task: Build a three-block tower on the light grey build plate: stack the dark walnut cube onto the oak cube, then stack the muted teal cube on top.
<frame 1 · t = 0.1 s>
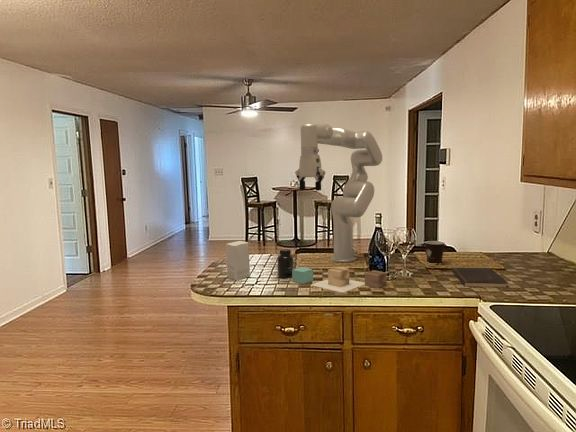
hand: (310, 190, 199), 37 cm above the countertop, tool pointing down, fingers open, 9 cm apart
build plate: (338, 286, 174), on the countertop
walnut cube: (375, 287, 172), on the countertop
skincare box: (239, 278, 192), on the countertop
hardcover book: (478, 280, 180), on the countertop
supplement bottle: (285, 277, 191), on the countertop
coffee mug: (433, 262, 209), on the countertop
teal cube: (302, 283, 180), on the countertop
oak cube: (338, 284, 174), point 1 cm above the countertop, touching build plate
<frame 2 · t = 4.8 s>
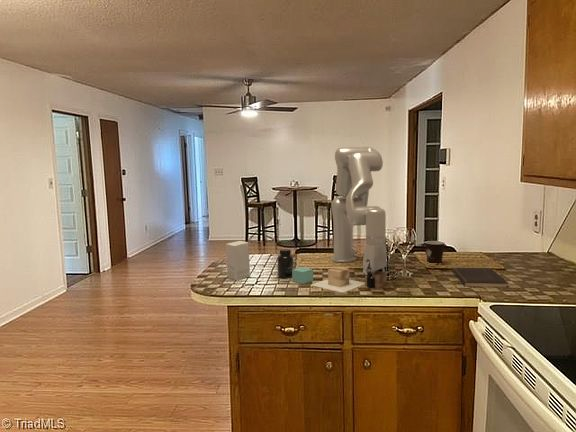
hand: (375, 285, 171), 1 cm above the countertop, tool pointing down, fingers closed on walnut cube, 6 cm apart
walnut cube: (375, 287, 172), on the countertop, touching gripper
everything else where it was.
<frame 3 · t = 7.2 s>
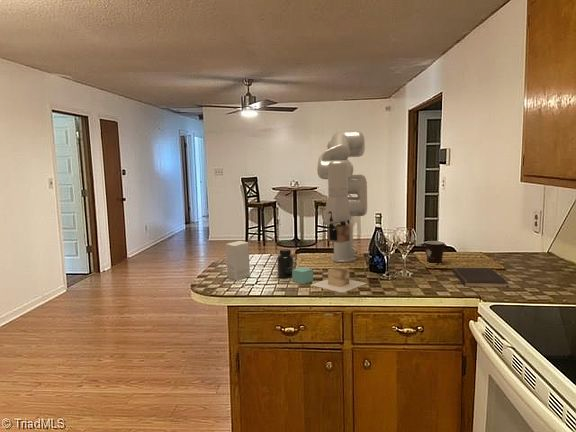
hand: (338, 238, 172), 19 cm above the countertop, tool pointing down, fingers closed on walnut cube, 6 cm apart
walnut cube: (338, 240, 172), point 19 cm above the countertop, touching gripper
everything else where it was.
when the fingers open (9 cm above the countertop, at t = 9.7 s): walnut cube stays where it is, resting on oak cube.
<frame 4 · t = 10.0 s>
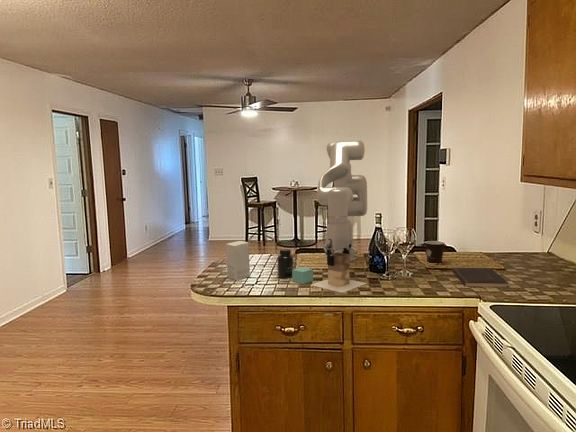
hand: (338, 263, 173), 9 cm above the countertop, tool pointing down, fingers open, 9 cm apart
walnut cube: (338, 269, 174), point 7 cm above the countertop, touching oak cube
oak cube: (338, 284, 174), point 1 cm above the countertop, touching build plate, walnut cube
everything else where it was.
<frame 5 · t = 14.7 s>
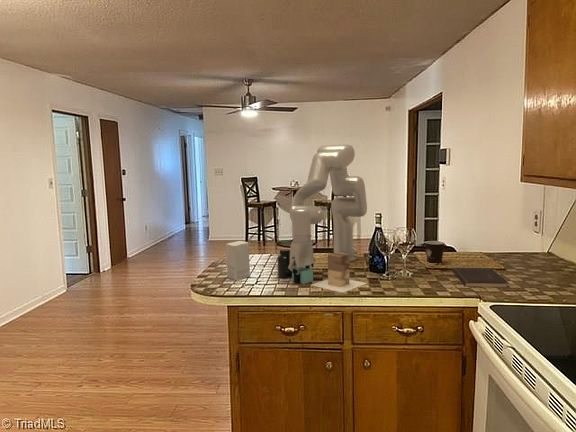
hand: (302, 281, 180), 1 cm above the countertop, tool pointing down, fingers closed on teal cube, 6 cm apart
teal cube: (302, 283, 180), on the countertop, touching gripper
everything else where it was.
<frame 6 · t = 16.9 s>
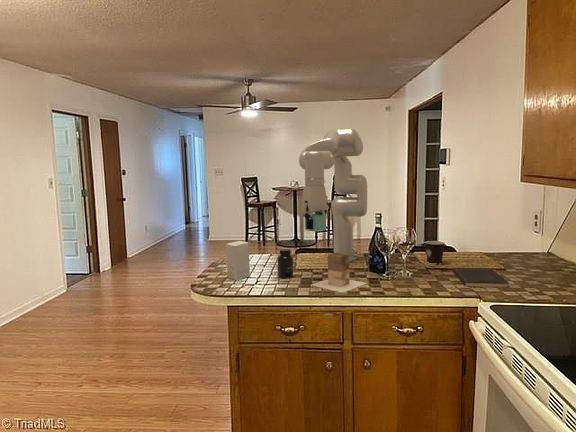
hand: (315, 227, 175), 23 cm above the countertop, tool pointing down, fingers closed on teal cube, 6 cm apart
teal cube: (315, 229, 175), point 23 cm above the countertop, touching gripper
everything else where it was.
when the fingers open (15 cm above the countertop, at t = 19.5 s): teal cube stays where it is, point 13 cm above the countertop.
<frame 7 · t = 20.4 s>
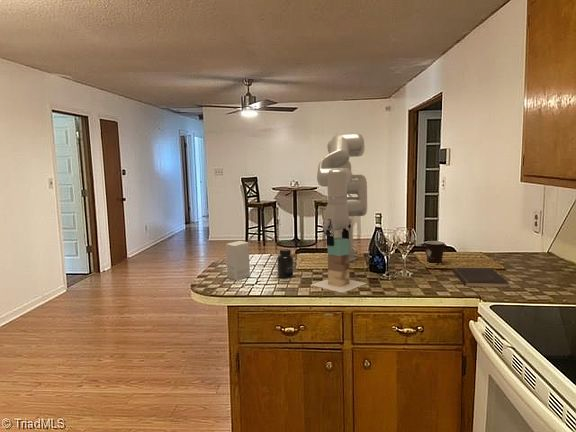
hand: (337, 243, 175), 17 cm above the countertop, tool pointing down, fingers open, 9 cm apart
teal cube: (338, 254, 173), point 13 cm above the countertop, touching gripper
everything else where it was.
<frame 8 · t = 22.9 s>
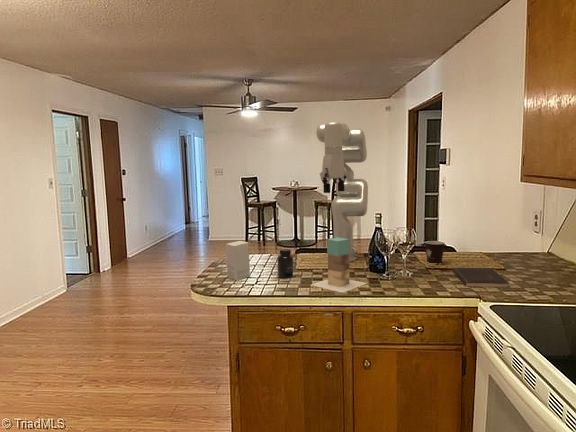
hand: (334, 192, 189), 36 cm above the countertop, tool pointing down, fingers open, 9 cm apart
walnut cube: (338, 269, 174), point 7 cm above the countertop, touching oak cube, teal cube
teal cube: (338, 254, 173), point 13 cm above the countertop, touching walnut cube
everything else where it was.
at the end: walnut cube 0.1 cm off-centre on the build plate, point 7.0 cm above the build plate's base; teal cube 0.6 cm off-centre on the build plate, point 13.0 cm above the build plate's base; teal cube tilted 0° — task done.
